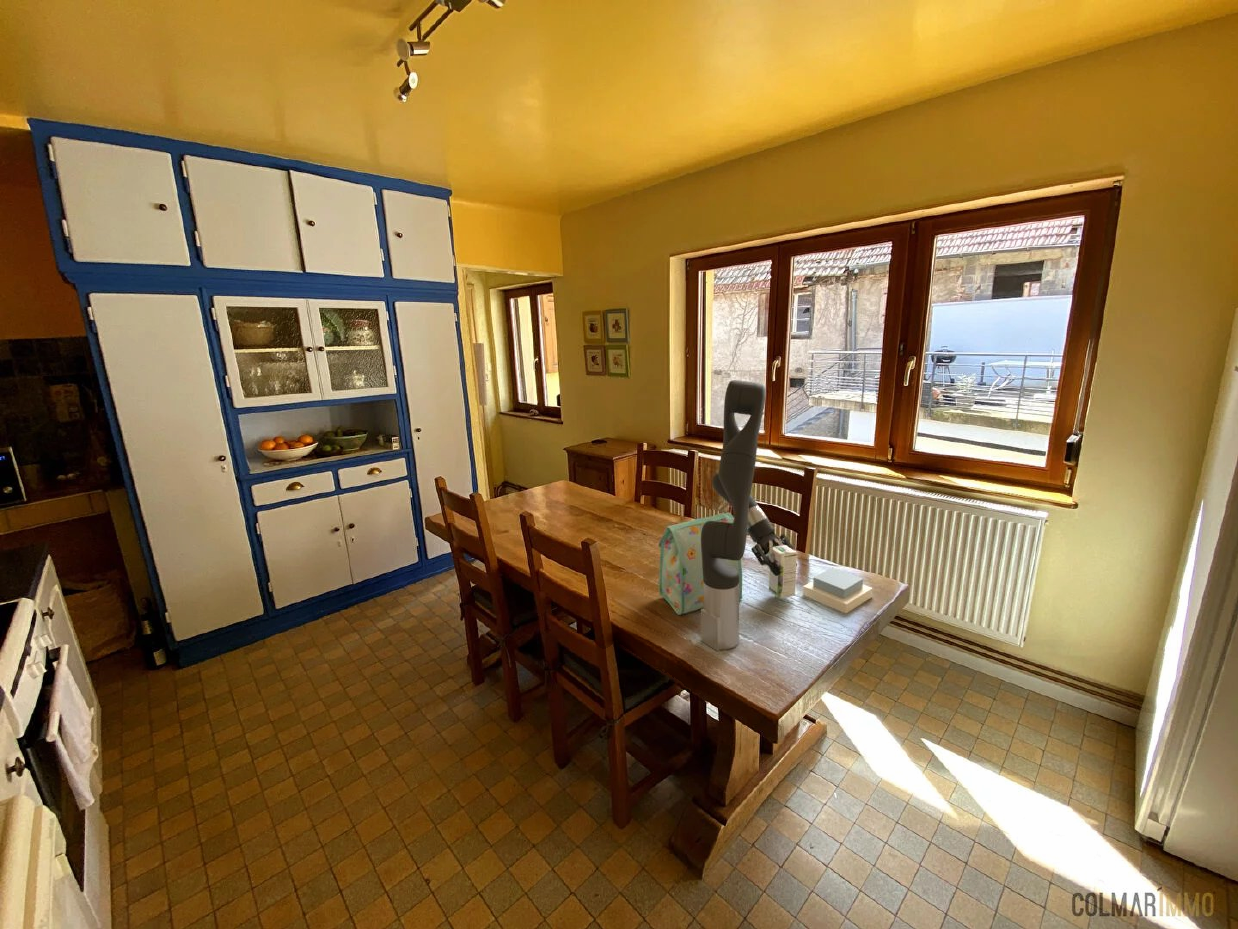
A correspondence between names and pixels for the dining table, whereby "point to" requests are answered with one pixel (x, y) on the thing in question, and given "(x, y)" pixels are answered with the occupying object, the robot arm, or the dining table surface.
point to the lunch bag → (687, 564)
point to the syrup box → (783, 572)
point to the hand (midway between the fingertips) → (787, 570)
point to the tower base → (837, 600)
